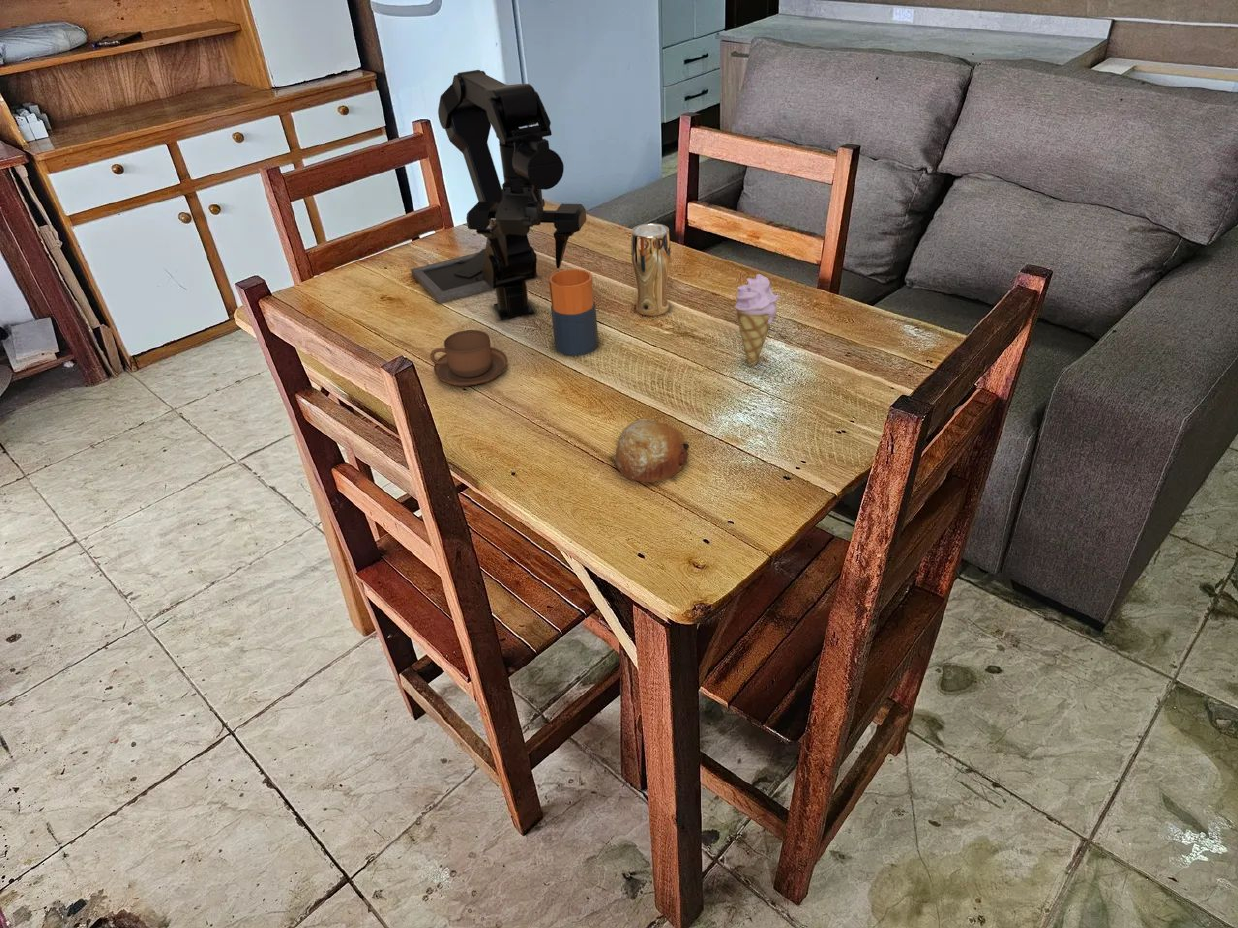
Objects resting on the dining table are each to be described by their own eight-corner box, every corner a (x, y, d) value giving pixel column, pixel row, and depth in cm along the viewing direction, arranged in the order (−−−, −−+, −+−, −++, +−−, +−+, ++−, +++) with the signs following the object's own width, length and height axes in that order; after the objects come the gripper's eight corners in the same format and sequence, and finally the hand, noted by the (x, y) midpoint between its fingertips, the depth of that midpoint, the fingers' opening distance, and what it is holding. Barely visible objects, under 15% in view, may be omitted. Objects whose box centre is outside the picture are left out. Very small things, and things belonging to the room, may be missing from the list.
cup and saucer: (449, 400, 131) (442, 365, 127) (426, 368, 139) (419, 335, 136) (519, 379, 135) (514, 345, 131) (493, 349, 144) (488, 317, 140)
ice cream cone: (777, 357, 137) (784, 271, 128) (770, 375, 132) (777, 288, 123) (738, 352, 139) (741, 267, 130) (729, 370, 134) (733, 284, 125)
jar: (550, 340, 145) (546, 300, 141) (590, 332, 147) (588, 293, 143) (561, 359, 140) (557, 318, 135) (603, 350, 141) (601, 310, 137)
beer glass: (668, 318, 150) (666, 238, 141) (630, 316, 152) (626, 236, 143) (673, 301, 156) (673, 223, 147) (637, 299, 157) (634, 222, 148)
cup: (547, 301, 141) (544, 273, 138) (586, 293, 143) (584, 266, 140) (558, 318, 136) (555, 289, 133) (599, 310, 137) (597, 281, 134)
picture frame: (505, 252, 179) (412, 276, 171) (504, 243, 178) (410, 267, 170) (537, 277, 168) (439, 303, 160) (536, 267, 167) (437, 294, 159)
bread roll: (625, 463, 121) (599, 424, 116) (689, 433, 119) (664, 391, 114) (632, 506, 113) (604, 465, 108) (700, 474, 111) (674, 431, 106)
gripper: (447, 188, 125) (463, 284, 135) (566, 190, 122) (574, 289, 131) (471, 166, 134) (485, 257, 143) (583, 167, 131) (590, 261, 140)
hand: (532, 266), depth 139 cm, fingers open, 9 cm apart
